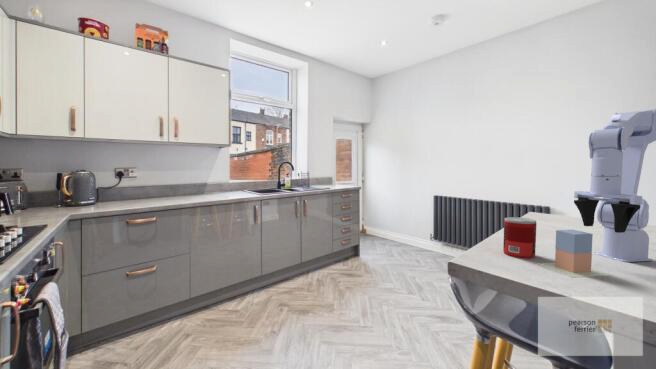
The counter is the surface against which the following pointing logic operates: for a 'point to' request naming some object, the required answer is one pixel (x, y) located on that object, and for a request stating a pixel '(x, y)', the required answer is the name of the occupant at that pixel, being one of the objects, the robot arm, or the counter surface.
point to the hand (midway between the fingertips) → (603, 229)
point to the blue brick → (574, 241)
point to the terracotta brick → (573, 261)
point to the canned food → (519, 237)
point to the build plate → (570, 274)
